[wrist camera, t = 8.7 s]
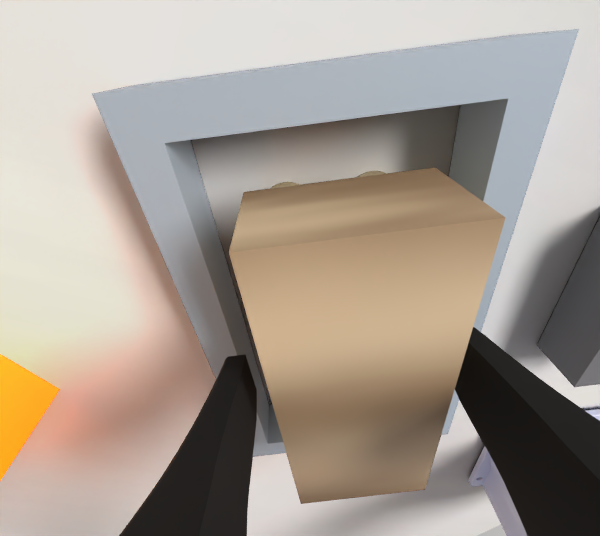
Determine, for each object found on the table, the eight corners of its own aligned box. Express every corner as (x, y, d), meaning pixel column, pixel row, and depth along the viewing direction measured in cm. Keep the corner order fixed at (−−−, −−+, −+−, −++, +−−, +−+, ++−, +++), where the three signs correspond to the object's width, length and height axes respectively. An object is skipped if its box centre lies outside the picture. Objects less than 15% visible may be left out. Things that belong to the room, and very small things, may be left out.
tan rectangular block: (400, 417, 15) (424, 489, 12) (297, 429, 15) (301, 504, 12) (435, 166, 8) (505, 217, 6) (243, 192, 8) (228, 252, 6)
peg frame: (431, 397, 18) (450, 439, 16) (252, 418, 19) (249, 463, 17) (515, 34, 9) (590, 28, 6) (130, 85, 9) (85, 95, 7)
